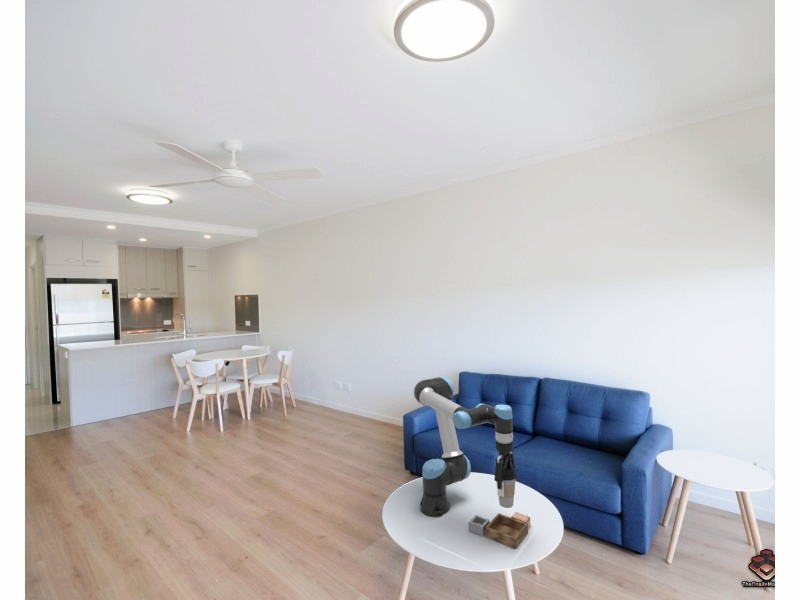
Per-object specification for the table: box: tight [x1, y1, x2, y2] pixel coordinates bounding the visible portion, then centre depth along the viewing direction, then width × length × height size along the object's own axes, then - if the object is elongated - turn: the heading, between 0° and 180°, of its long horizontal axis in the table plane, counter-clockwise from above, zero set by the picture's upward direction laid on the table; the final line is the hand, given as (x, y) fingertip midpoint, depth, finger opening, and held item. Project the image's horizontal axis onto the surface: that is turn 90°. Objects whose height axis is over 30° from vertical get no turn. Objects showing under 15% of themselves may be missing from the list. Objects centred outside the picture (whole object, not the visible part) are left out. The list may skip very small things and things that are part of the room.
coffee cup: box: [493, 466, 517, 509], centre depth 171 cm, size 9×9×15 cm
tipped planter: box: [510, 511, 531, 530], centre depth 178 cm, size 7×5×5 cm
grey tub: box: [468, 514, 491, 537], centre depth 176 cm, size 7×7×5 cm
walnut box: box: [484, 513, 529, 550], centre depth 172 cm, size 14×14×5 cm
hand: (505, 490), depth 171 cm, fingers closed on coffee cup, 9 cm apart
